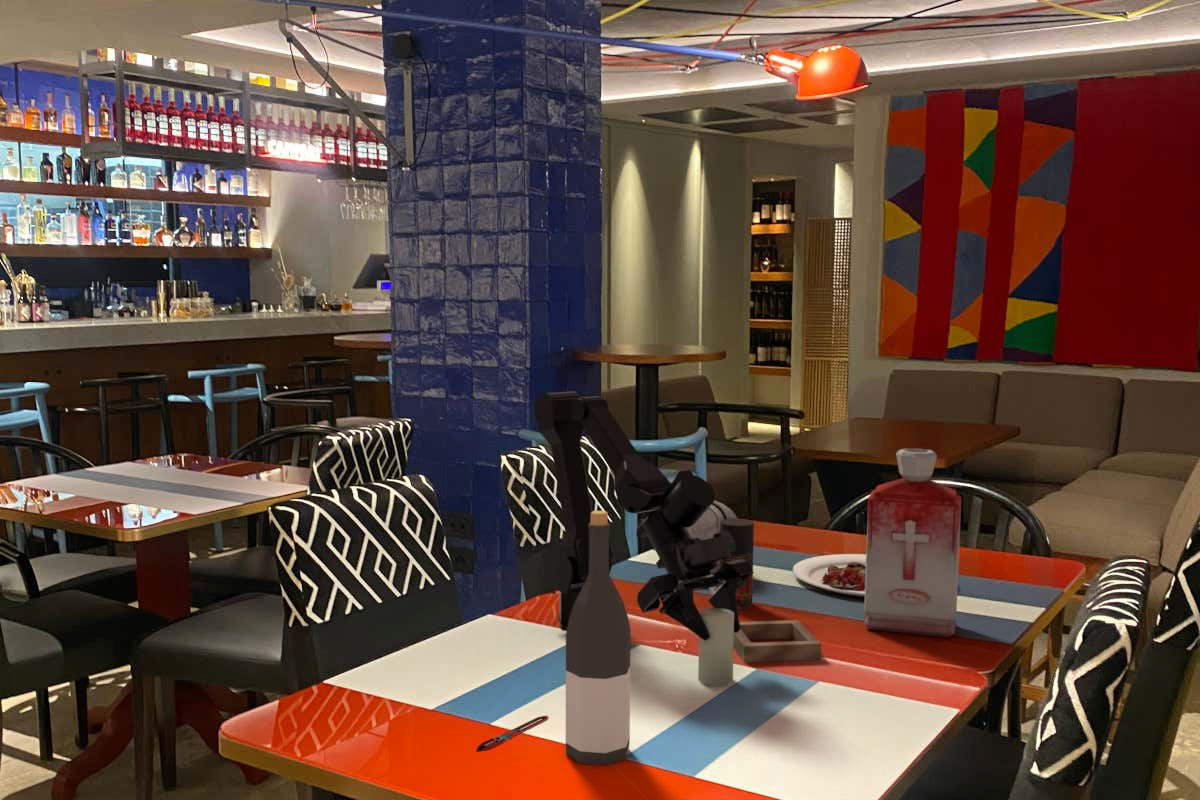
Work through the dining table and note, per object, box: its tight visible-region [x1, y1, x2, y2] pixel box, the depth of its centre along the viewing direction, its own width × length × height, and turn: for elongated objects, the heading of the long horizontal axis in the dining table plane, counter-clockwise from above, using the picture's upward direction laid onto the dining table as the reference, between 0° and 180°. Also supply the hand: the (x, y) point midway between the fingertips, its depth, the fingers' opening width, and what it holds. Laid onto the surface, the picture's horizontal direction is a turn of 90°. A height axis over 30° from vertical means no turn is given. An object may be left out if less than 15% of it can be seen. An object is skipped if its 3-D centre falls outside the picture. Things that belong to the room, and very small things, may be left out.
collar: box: [733, 619, 822, 663], centre depth 179 cm, size 12×12×2 cm
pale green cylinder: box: [697, 607, 734, 687], centre depth 164 cm, size 5×5×10 cm
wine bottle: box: [565, 510, 632, 766], centre depth 138 cm, size 8×8×30 cm
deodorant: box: [719, 518, 755, 610], centre depth 202 cm, size 6×6×15 cm
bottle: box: [863, 448, 962, 638], centre depth 189 cm, size 14×10×30 cm
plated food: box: [792, 553, 866, 598], centre depth 219 cm, size 30×30×3 cm
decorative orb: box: [686, 500, 739, 574], centre depth 223 cm, size 15×14×15 cm
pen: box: [475, 715, 549, 752], centre depth 145 cm, size 2×14×1 cm, turn 144°
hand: (722, 635), depth 163 cm, fingers open, 6 cm apart
